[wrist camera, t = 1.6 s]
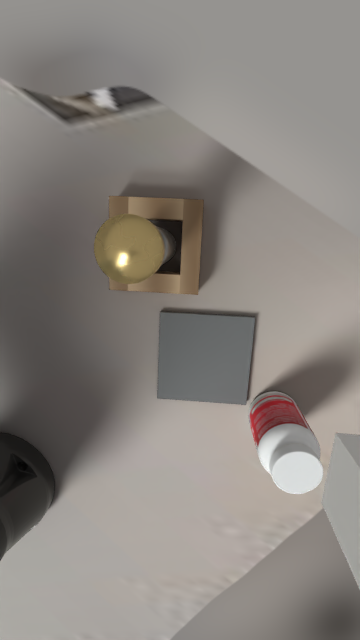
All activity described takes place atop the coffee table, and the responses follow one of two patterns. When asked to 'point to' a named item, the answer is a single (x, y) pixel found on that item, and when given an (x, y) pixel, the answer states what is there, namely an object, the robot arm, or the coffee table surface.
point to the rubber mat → (204, 357)
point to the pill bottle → (285, 443)
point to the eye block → (191, 241)
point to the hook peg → (132, 248)
